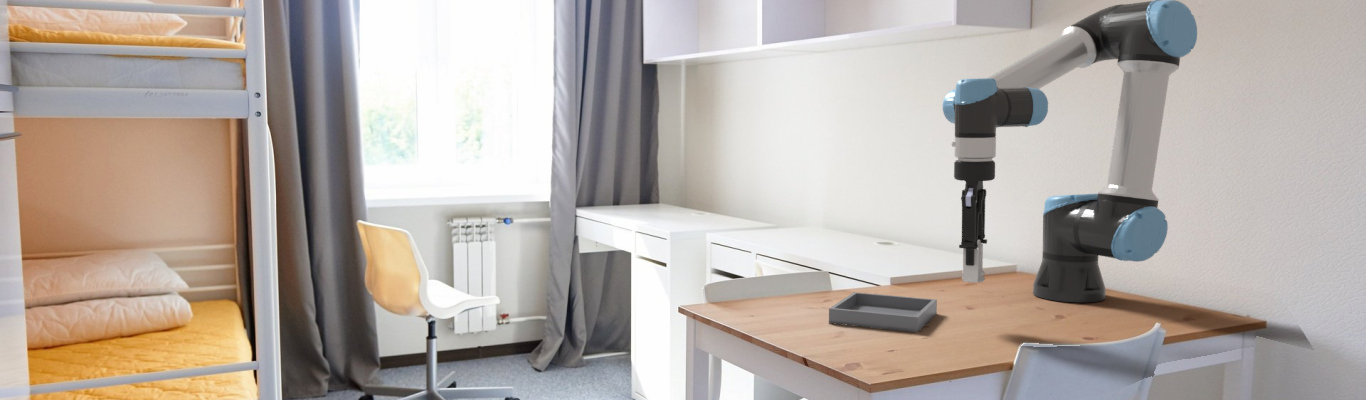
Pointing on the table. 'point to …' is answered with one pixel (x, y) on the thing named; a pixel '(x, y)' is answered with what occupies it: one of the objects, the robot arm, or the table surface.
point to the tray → (884, 311)
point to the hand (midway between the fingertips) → (972, 278)
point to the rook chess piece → (979, 265)
